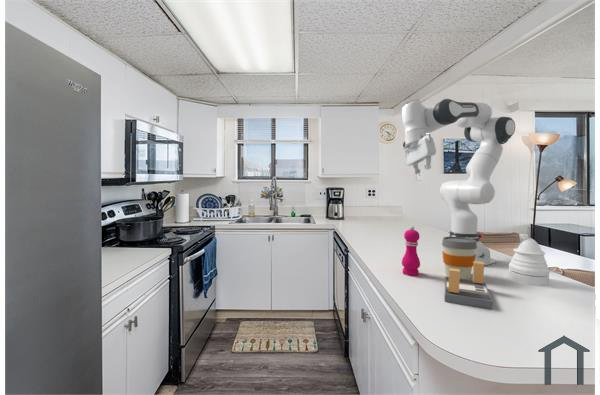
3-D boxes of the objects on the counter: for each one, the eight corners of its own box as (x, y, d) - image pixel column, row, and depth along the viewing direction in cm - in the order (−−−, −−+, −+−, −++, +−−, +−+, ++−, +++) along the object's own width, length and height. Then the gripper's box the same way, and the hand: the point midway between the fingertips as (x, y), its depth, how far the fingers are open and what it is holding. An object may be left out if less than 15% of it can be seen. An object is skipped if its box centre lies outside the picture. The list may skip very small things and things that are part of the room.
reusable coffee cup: (480, 281, 118) (482, 243, 117) (445, 279, 120) (446, 241, 119) (469, 272, 130) (470, 237, 129) (437, 270, 133) (439, 235, 132)
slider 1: (448, 291, 99) (449, 270, 99) (448, 288, 102) (449, 268, 101) (458, 293, 98) (459, 271, 97) (458, 290, 100) (459, 269, 100)
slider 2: (473, 282, 108) (474, 263, 108) (472, 280, 111) (473, 260, 110) (483, 283, 107) (484, 264, 106) (482, 281, 110) (483, 262, 109)
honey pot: (510, 282, 118) (512, 236, 117) (506, 273, 129) (508, 231, 128) (552, 288, 112) (555, 239, 111) (544, 278, 123) (547, 233, 122)
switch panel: (444, 301, 98) (445, 293, 98) (444, 282, 116) (445, 275, 116) (492, 309, 93) (492, 300, 92) (484, 288, 111) (484, 281, 110)
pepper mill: (417, 271, 130) (418, 224, 129) (422, 276, 123) (423, 227, 122) (399, 270, 131) (401, 224, 130) (403, 276, 124) (405, 227, 123)
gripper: (436, 129, 117) (443, 165, 115) (414, 144, 137) (419, 175, 136) (421, 131, 116) (427, 167, 115) (400, 146, 137) (405, 176, 135)
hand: (422, 171), depth 125 cm, fingers open, 8 cm apart
